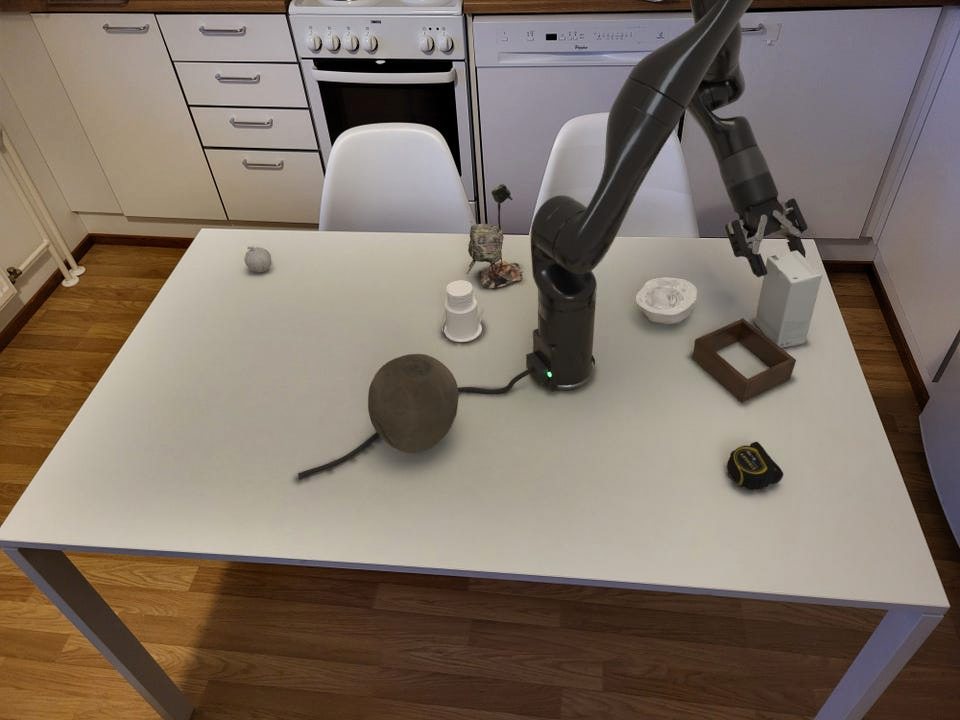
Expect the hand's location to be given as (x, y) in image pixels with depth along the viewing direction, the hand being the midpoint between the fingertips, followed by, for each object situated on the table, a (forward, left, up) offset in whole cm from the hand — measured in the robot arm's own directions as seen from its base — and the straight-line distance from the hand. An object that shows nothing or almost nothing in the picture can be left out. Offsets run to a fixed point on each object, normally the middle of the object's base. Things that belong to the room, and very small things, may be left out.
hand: (781, 267), depth 131 cm
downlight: (-48, +28, -13) cm, 57 cm away
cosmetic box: (0, -3, -13) cm, 13 cm away
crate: (-12, -6, -13) cm, 19 cm away
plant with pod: (-35, +39, -13) cm, 54 cm away
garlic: (-75, +68, -13) cm, 102 cm away
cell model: (-14, +12, -13) cm, 22 cm away
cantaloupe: (-66, +9, -13) cm, 68 cm away
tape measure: (-26, -24, -13) cm, 38 cm away
